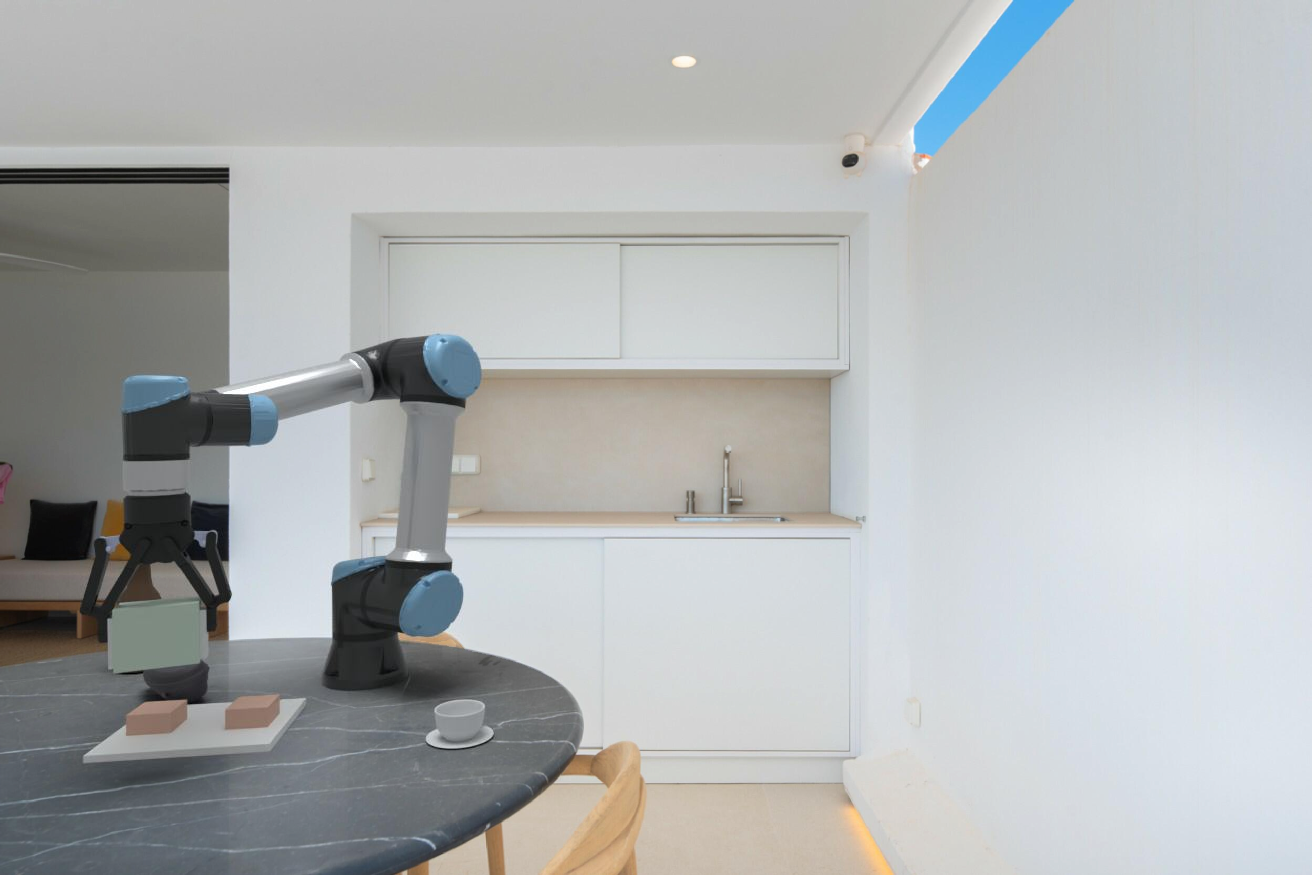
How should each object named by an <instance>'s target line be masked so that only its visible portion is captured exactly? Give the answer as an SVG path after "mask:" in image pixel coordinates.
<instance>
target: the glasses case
mask: <svg viewBox="0 0 1312 875" xmlns="http://www.w3.org/2000/svg"><path fill="white" fill-rule="evenodd" d="M210 668H211V667H210V666H209V665H208V663H206V662H205V661H204V660H203V659H201V661H200V663H198V664H190V665H181V666H173V667H164V668H156V669H147V670H144V671H142V677H143V681H144V682H145V684H146V685H147V686H148V687H149V688H150V689H151V690H153V691H154V692H155V694H157V695H158V696H160V697H161V698H162V699H164V701H171V700H187V705H189V704H190V703H194V702H196V701H197V700H200V699H202V697H204V696H205V695H206V694H207V692H208V686H209V684H208V681H209V671H210Z"/></svg>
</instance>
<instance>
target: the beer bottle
mask: <svg viewBox="0 0 1312 875" xmlns="http://www.w3.org/2000/svg"><path fill="white" fill-rule="evenodd" d="M130 557H131V554H130V553H129V558H130ZM151 568H152V567H151V564H146V565H144V564H142V563H141V564H140V566H139V567H138V568H137V570H136V572H135V573H134V575H133V577H132V578H131V580H130V582H129V583H128V585H127V587H126V588H125V590H124V592H123V593H122V595H121V597H120V598H119V600H118V602H117V603H116V606H117V605H118V604H119V603H125V602H137V601H148V600H160V599H162V597H161V594H160V593H159V591H158V589H157V588H156V587H155V586H154V584H153V581H152V579H153V578H152V570H151ZM143 671H144V670H139V671H130V672H122V674H127V673H128V674H129V673H135V674H137V673H143Z"/></svg>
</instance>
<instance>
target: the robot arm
mask: <svg viewBox="0 0 1312 875" xmlns="http://www.w3.org/2000/svg"><path fill="white" fill-rule="evenodd" d="M481 364H482V363H481V361H480V358H479V356H478V353H477V352H476V351H474V348H473V345H472V344H470V343H469V341H468V340H466V339H465V338H463V337H462V336H460V335H458V334H447V333H446V334H442V333H441V334H440V333H433V334H431V335H430V334H429V335H424V336H413V337H402V338H393V339H391V340H388V341H384V342H381V343H378V344H376V345H372V346H369V347H367V348H363V349H360V350H355V351H352V352H347V353H344V354H343V355H342V356H341V357H340V359H339V360H336V361H332V362H328V363H323V364H322V363H321V364H318V365H315V366H310V367H309V366H308V367H306V368H305V367H304V368H302V369H301V368H300V369H296V370H292V371H287V372H283V373H279V374H273V375H270V376H269V375H268V376H264V377H260V378H255V379H252V380H247V381H246V380H245V381H242V382H237V383H233V384H228V385H224V386H220V387H215V388H211V389H209V390H202V391H198V392H195V391H191V388H190V383H189V381H188V379H187V378H186V377H183V376H176V375H175V376H174V375H152V374H151V375H150V374H149V375H148V374H146V375H140V374H139V375H132V376H129V377H127V378H126V379H125V380H124V381H123V384H122V392H121V403H120V404H121V407H120V414H121V429H122V430H121V431H122V432H121V434H122V453H123V454H122V490H123V491H124V492H126V493H128V495H124V496H125V497H124V498H123V501H122V503H123V504H122V505H123V528H122V530H121V533H120V534H119V535H112V536H106V535H101V536H99V537H98V538H96V539H95V540H94V541H93V548H94V556H95V557H94V560H93V563H92V567H91V569H90V570H91V571H90V574H89V577H88V581H87V584H86V587H85V590H84V594H83V598H82V600H81V604H80V608H79V613H80V615H82V616H91V617H94V618H96V620H97V640H98V643H99V644H104V643H107V665H108V666H107V669H108V670H109V671H110V670H113V629H112V610H113V609H114V608H115V607H116V606H117V603H118V601H119V598H120V597H121V595H122V593H123V592H124V591H125V589H126V588H127V585H128V583H129V582H130V580H131V578H132V577H133V575H134V573H135V572H136V570H137V568H138V567H139V566H140V564H141V563H142V564H144V565H146V564H150V565H153V564H155V563H161V564H171V563H172V562H173V563H175V564H176V566H177V567H178V568H179V570H180V571H181V572H182V573H183V575H184V576H185V578H186V580H187V581H188V582H189V583H190V585H191V586H192V588H193V590H194V591H195V593H196V594H197V596H199V597H200V598H201V600H202V604H203V605H204V606H202V607H201V609H200V659H201V660H203V659H207V658H208V656H209V652H210V651H209V650H210V649H209V632H212V633H213V632H216V630H217V628H218V607H219V606H220V605H222V604H225V603H228V602H230V601H231V598H232V596H233V592H232V590H231V586H230V583H229V580H228V578H227V573H226V571H225V568H224V564H223V561H222V558H221V555H220V553H219V552H220V551H219V549H218V539H219V538H218V537H219V536H218V535H219V532H218V531H217V530H216V529H211V530H209V531H207V530H206V531H205V530H204V531H203V530H196V529H195V528H194V527H193V525H192V512H191V511H192V508H191V506H192V505H191V504H192V503H191V502H192V501H191V499H192V498H191V494H190V493H189V492H187V491H186V490H188V489H190V488H191V447H192V448H195V447H196V448H199V447H251V446H262V445H263V446H264V445H267V444H268V443H270V442H272V441H273V440H274V438H275V436H276V435H277V433H278V429H279V422H280V421H282V420H286V419H290V418H293V417H297V416H301V415H305V414H309V413H312V412H315V411H319V410H322V409H323V410H324V409H326V408H330V407H334V406H337V405H341V404H345V403H349V402H353V403H355V404H357V405H358V404H363V405H364V404H366V403H369V402H375V401H382V400H384V401H385V400H387V401H388V400H399V407H400V408H401V409H402V410H403V411H404V412H405V413H406V415H407V417H406V428H405V438H404V449H403V450H404V451H403V460H402V471H401V479H400V480H401V481H400V482H401V484H400V495H399V504H398V505H399V506H398V514H397V525H396V526H397V527H396V538H395V547H394V548H393V550H392V551H390V552H389V553H388V554H387V555H377V556H376V555H375V556H369V557H362V558H354V559H350V560H349V559H347V560H343V561H342V560H341V561H339V562H337V563H336V564H335V565H334V566H333V568H332V573H331V582H330V586H331V630H332V631H331V638H332V639H331V645H330V648H329V651H328V654H327V657H326V660H325V663H324V666H323V669H322V672H321V673H322V674H321V684H322V686H323V687H324V688H326V689H329V690H332V691H341V692H358V691H370V690H376V689H382V688H386V687H390V686H393V685H395V684H399V683H400V682H402V681H404V680H406V678H407V677H408V675H409V674H408V673H409V670H408V669H409V666H408V663H407V659H406V656H405V653H404V650H403V647H402V644H401V641H400V639H399V638H400V637H399V634H405V635H406V636H409V637H413V638H414V637H424V638H431V637H435V636H438V635H440V634H441V633H444V632H445V631H446V630H448V629H449V628H450V626H451V624H453V623H454V622H455V621H456V619H457V617H458V616H459V614H460V612H461V609H462V606H463V603H464V602H463V601H464V587H463V584H462V582H460V578H459V577H458V575H456V574H455V572H452V570H453V558H452V557H451V556H450V555H449V554H448V552H447V551H446V540H447V528H448V520H449V519H448V517H449V507H450V506H449V505H450V492H451V481H452V473H453V472H452V469H453V459H454V458H453V457H454V448H455V447H454V445H455V437H456V436H455V435H456V424H457V419H458V418H459V417H460V416H461V415H463V414H464V413H465V411H466V404H467V398H469V397H471V396H472V395H474V394H475V392H476V390H478V389H479V387H480V385H481V380H482V365H481ZM194 540H196V541H197V542H198V544H199V546H200V547H201V548H204V549H205V554H206V555H205V556H206V558H207V561H208V564H209V566H210V567H209V568H210V570H211V573H212V576H213V579H214V583H215V585H216V589H217V591H218V592H217V593H218V594H216V595H215V593H214V592H213V591H212V589H211V588H210V586H209V585H208V583H207V581H206V580H205V579H204V577H203V576H202V574H201V572H200V571H199V570H198V568H197V567H196V565H195V564H194V563H193V561H192V559H191V557H190V555H189V554H188V553H187V551H186V550H187V549H188V547H189V546H190V545H191V543H193V541H194ZM120 544H121V546H122V547H123V548H124V549H125V550H126V551H127V552H128V553H129V555H130V554H131V557H130V556H129V559H128V560H127V562H126V564H125V565H124V567H123V569H122V571H121V572H120V574H119V576H118V578H117V579H116V581H115V582H114V584H113V586H112V588H111V589H110V591H109V592H108V594H107V596H106V597H105V599H104V601H103V602H102V604H97V602H98V599H99V596H100V592H101V589H102V585H103V582H104V578H105V575H106V572H107V568H108V565H109V561H110V558H111V554H112V553H114V552H115V551H116V549H117V546H118V545H120Z"/></svg>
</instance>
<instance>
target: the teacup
mask: <svg viewBox="0 0 1312 875" xmlns="http://www.w3.org/2000/svg"><path fill="white" fill-rule="evenodd" d="M433 712H434V720H435V726H436V729H433V730H431V731H430V732H429V733H427V734H426V736H425V739H424V740H425V743H427V744H428V745H430V746H433V747H435V748H441V749H449V750H450V749H463V748H465V749H466V748H470V747H474V746H478V745H481V744H483V743H485V742H487V741H489V740H491V739H492V737H494V734H495V733H494V729H492V728H491V727H490V726H488V725H485V724H483V722H484V719H485V713H486V705H485V704H484V702H482V701H480V700H476V699H454V700H450V701H445V702H443V703H440V704H439V705H437V706H435V708H434V711H433Z"/></svg>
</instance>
